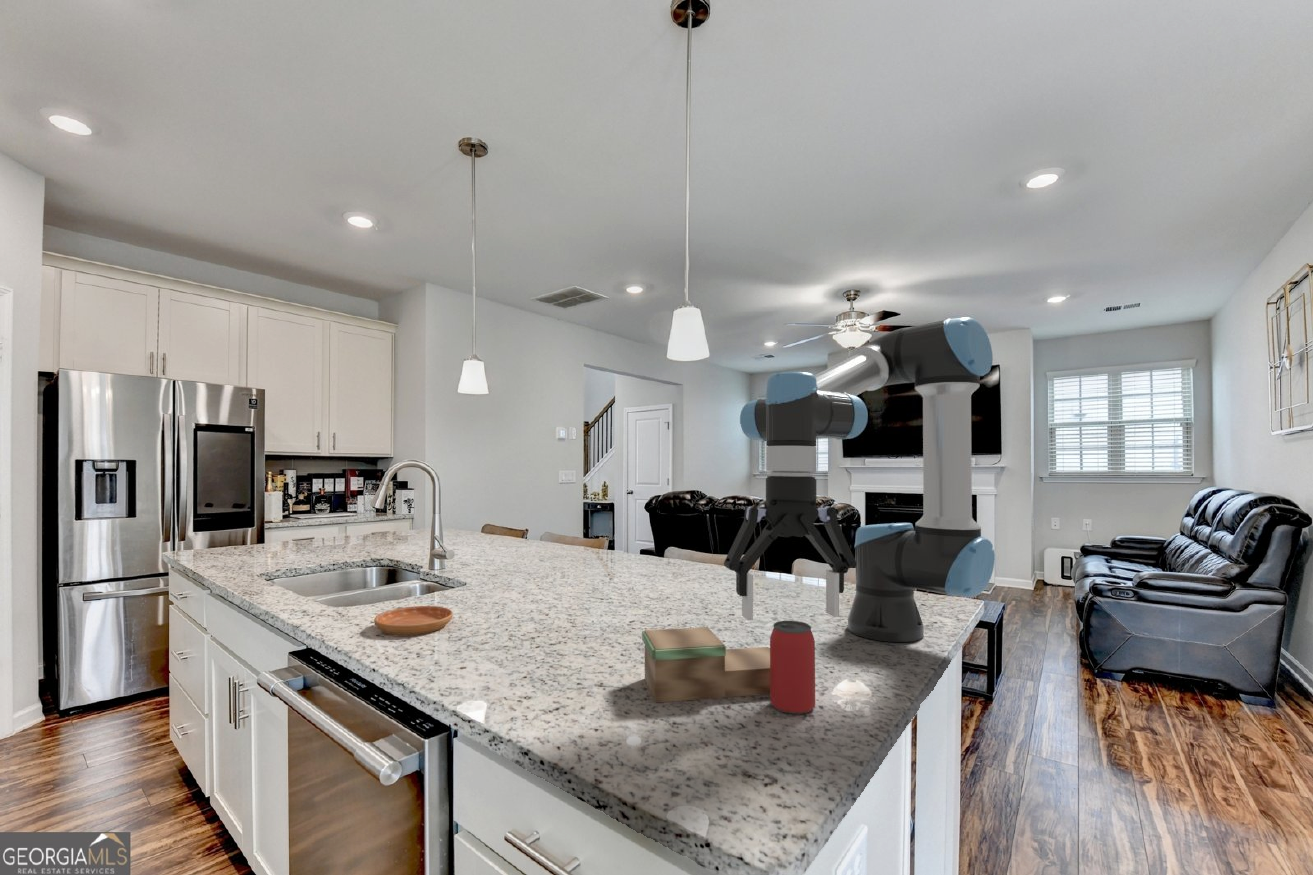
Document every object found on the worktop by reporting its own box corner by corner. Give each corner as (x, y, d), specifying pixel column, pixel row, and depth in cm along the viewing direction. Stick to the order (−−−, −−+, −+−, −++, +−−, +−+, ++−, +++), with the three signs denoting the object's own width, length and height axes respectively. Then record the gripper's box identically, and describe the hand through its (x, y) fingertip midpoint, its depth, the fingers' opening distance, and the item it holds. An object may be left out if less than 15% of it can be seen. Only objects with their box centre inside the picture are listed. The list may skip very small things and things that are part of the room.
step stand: (768, 670, 103) (768, 623, 103) (792, 693, 93) (792, 642, 93) (642, 678, 99) (642, 630, 99) (652, 704, 88) (653, 650, 89)
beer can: (786, 694, 92) (785, 617, 93) (823, 706, 88) (823, 625, 88) (761, 706, 88) (761, 625, 88) (800, 720, 83) (799, 634, 83)
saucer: (466, 620, 135) (466, 607, 135) (423, 642, 119) (424, 627, 119) (405, 616, 139) (405, 603, 139) (356, 636, 123) (357, 622, 123)
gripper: (853, 475, 95) (854, 607, 94) (704, 473, 90) (703, 612, 89) (879, 476, 88) (880, 619, 87) (718, 474, 83) (717, 626, 82)
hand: (790, 616), depth 88 cm, fingers open, 13 cm apart
